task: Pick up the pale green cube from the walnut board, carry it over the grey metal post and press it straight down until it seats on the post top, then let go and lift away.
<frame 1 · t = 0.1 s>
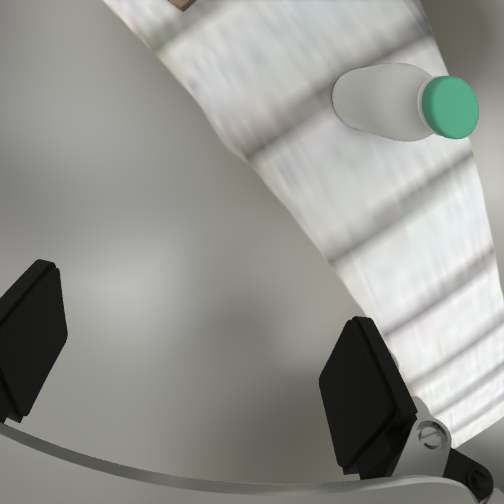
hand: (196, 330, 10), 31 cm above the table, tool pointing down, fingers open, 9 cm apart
milk bottle: (359, 99, 35), on the table
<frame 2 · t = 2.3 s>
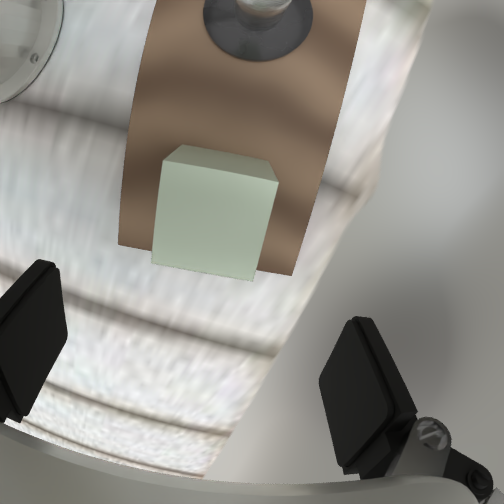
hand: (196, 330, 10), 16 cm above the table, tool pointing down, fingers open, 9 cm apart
pale green cube: (216, 193, 23), point 1 cm above the table, touching board
board: (236, 102, 21), on the table
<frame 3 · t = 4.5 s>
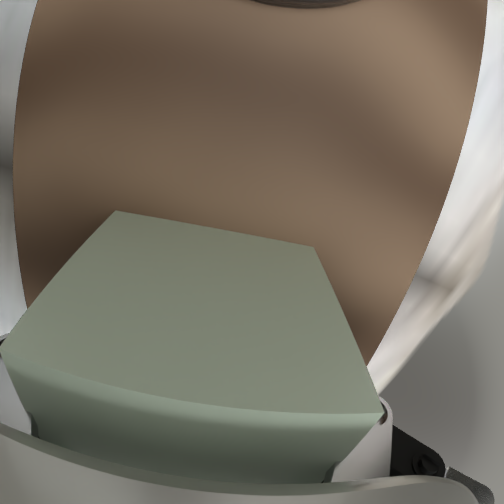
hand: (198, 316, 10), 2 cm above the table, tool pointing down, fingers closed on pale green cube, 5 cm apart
pale green cube: (199, 311, 11), point 1 cm above the table, touching board, gripper
board: (239, 105, 9), on the table
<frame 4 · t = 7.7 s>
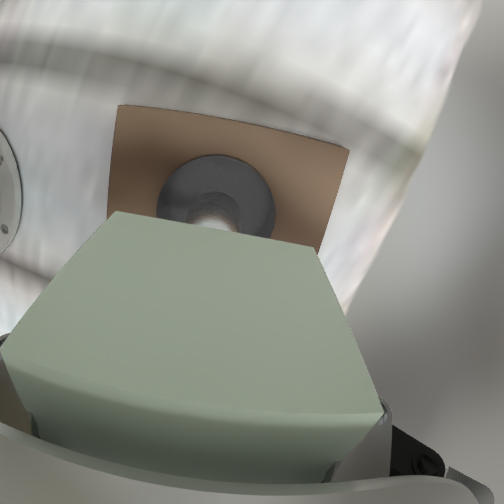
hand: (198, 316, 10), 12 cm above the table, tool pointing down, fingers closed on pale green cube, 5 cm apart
pale green cube: (199, 311, 11), point 12 cm above the table, touching gripper
board: (202, 286, 24), on the table
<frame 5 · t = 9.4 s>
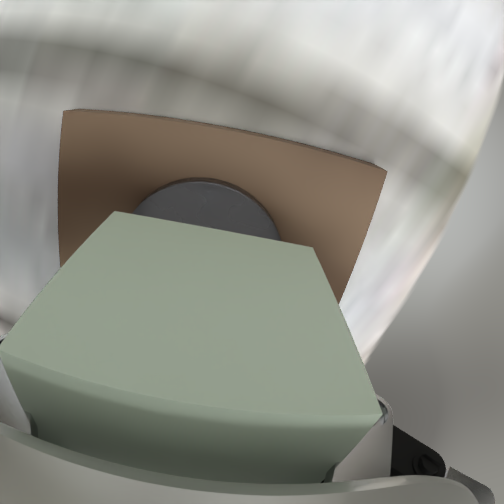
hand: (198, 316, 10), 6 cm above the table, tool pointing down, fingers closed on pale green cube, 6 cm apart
pale green cube: (198, 311, 11), point 5 cm above the table, touching board, gripper
board: (188, 341, 18), on the table
when the fingers open (5 cm above the table, at t = 10.8 s): pale green cube stays where it is, resting on board.
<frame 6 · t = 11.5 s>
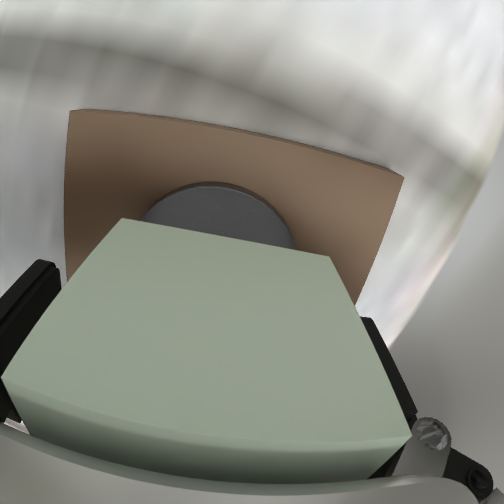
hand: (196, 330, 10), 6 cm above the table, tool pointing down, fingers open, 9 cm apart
pale green cube: (209, 322, 10), point 6 cm above the table, touching board
board: (197, 348, 18), on the table
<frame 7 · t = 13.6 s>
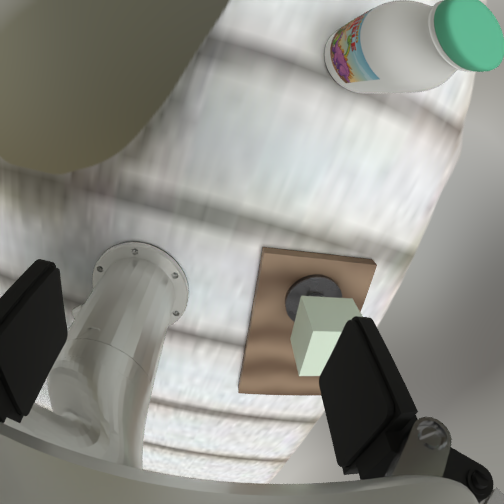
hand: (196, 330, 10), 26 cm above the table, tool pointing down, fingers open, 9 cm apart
pale green cube: (321, 319, 35), point 6 cm above the table, touching board
board: (299, 331, 43), on the table
milk bottle: (356, 60, 28), on the table
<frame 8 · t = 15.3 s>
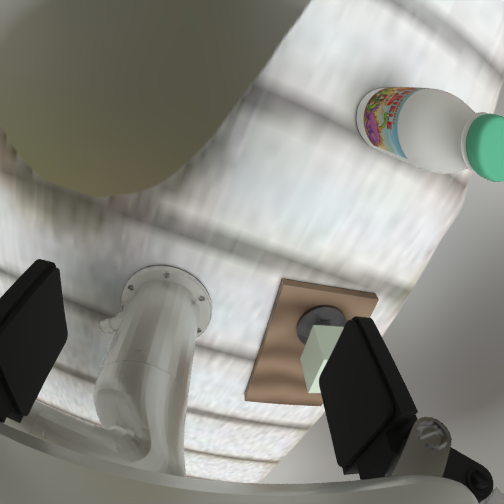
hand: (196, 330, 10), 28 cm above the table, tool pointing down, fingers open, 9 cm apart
pale green cube: (328, 343, 40), point 6 cm above the table, touching board
board: (304, 350, 48), on the table
milk bottle: (383, 119, 33), on the table
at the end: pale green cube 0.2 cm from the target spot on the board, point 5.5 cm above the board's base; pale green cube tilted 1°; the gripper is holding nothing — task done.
